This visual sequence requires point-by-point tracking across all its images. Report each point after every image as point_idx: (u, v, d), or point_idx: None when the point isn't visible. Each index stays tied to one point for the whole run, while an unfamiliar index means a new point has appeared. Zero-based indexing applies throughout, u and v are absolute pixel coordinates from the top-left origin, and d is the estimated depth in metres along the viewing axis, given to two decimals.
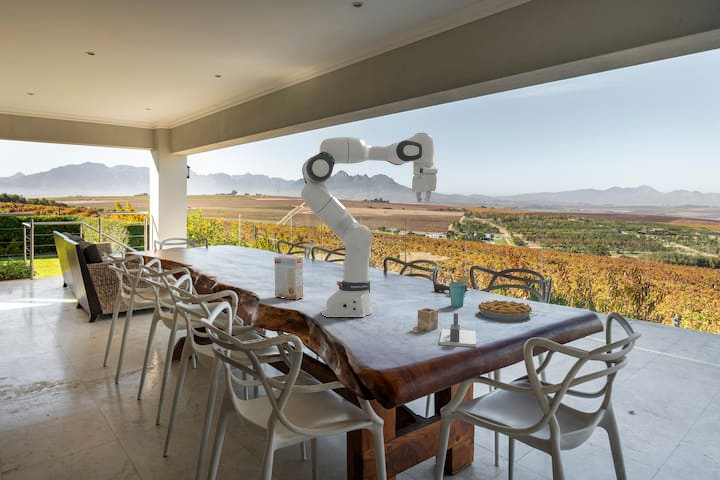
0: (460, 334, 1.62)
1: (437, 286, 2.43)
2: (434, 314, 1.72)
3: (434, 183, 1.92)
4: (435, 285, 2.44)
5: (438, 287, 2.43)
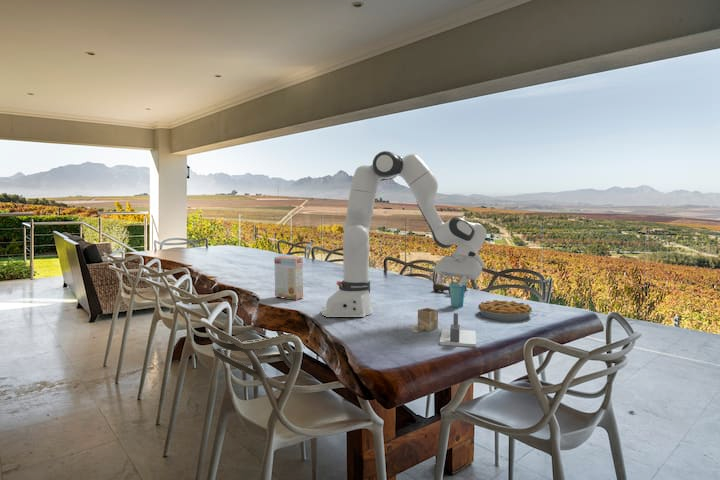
0: (460, 334, 1.62)
1: (436, 286, 2.43)
2: (434, 314, 1.72)
3: (479, 272, 1.78)
4: (434, 285, 2.44)
5: (437, 287, 2.43)
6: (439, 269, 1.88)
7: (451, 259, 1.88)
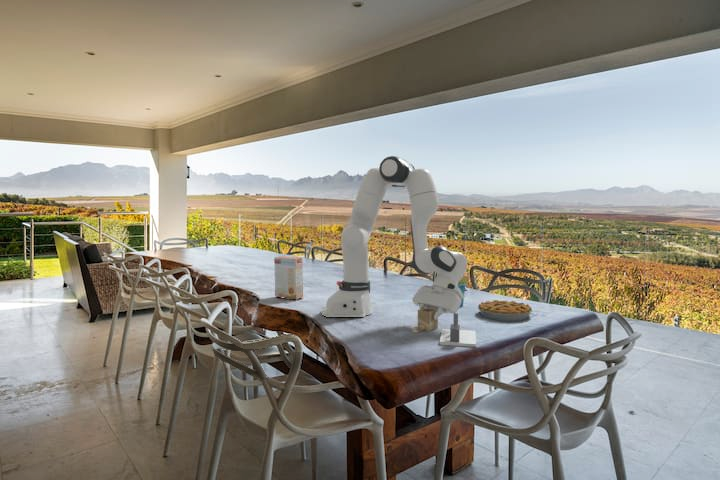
0: (460, 334, 1.62)
1: None
2: None
3: (458, 306, 1.70)
4: None
5: None
6: (417, 300, 1.80)
7: (430, 290, 1.80)
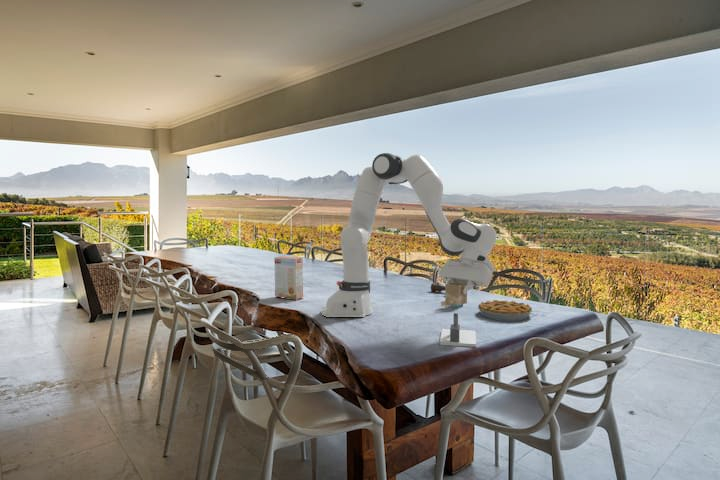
0: (460, 334, 1.62)
1: (434, 286, 2.42)
2: None
3: (489, 279, 1.59)
4: (432, 285, 2.43)
5: (435, 287, 2.42)
6: (444, 274, 1.69)
7: (458, 263, 1.69)
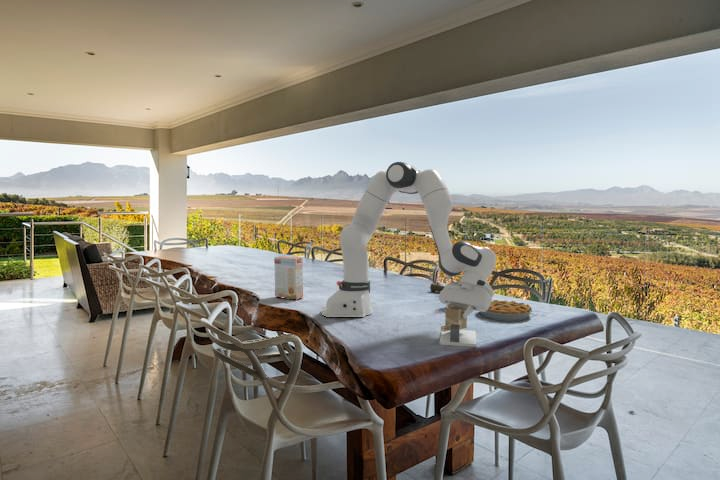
0: (460, 334, 1.62)
1: (434, 286, 2.42)
2: None
3: (489, 304, 1.60)
4: (431, 285, 2.43)
5: (435, 287, 2.42)
6: (444, 298, 1.70)
7: (457, 287, 1.70)
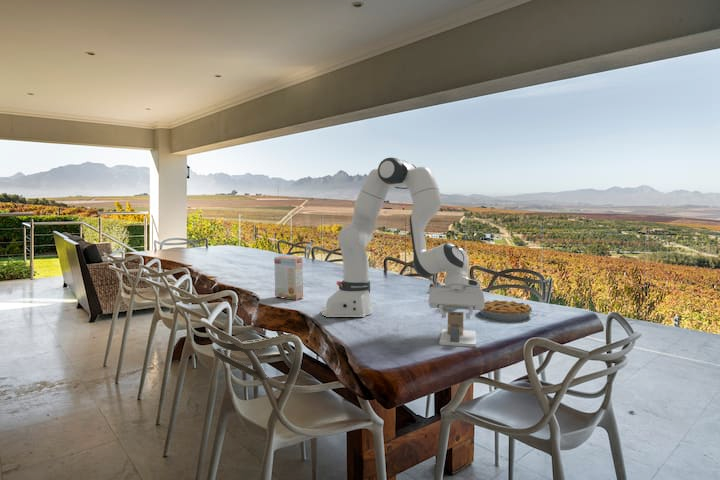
0: None
1: None
2: None
3: None
4: None
5: None
6: (437, 301, 1.67)
7: (446, 289, 1.70)
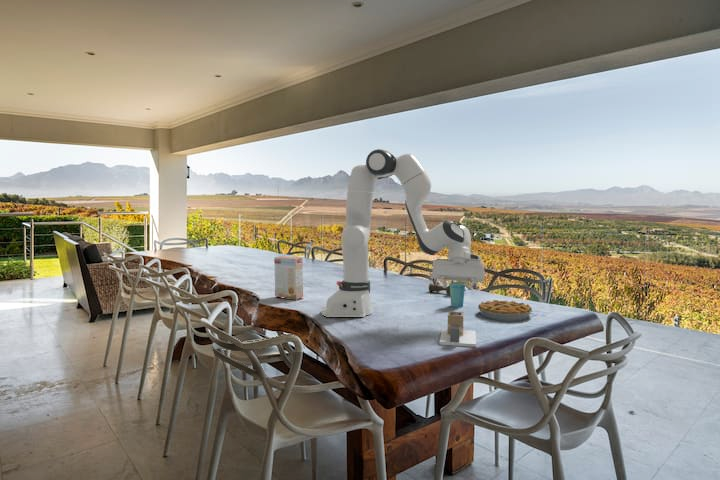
0: None
1: (432, 287, 2.41)
2: None
3: None
4: (430, 286, 2.42)
5: (433, 288, 2.41)
6: (440, 273, 1.79)
7: (449, 262, 1.82)
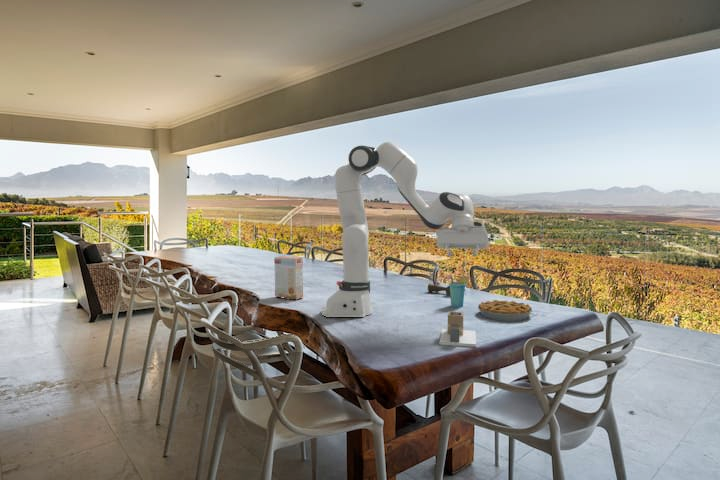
0: None
1: (431, 287, 2.41)
2: None
3: None
4: (429, 286, 2.41)
5: (432, 288, 2.40)
6: (444, 241, 1.81)
7: (453, 230, 1.84)
